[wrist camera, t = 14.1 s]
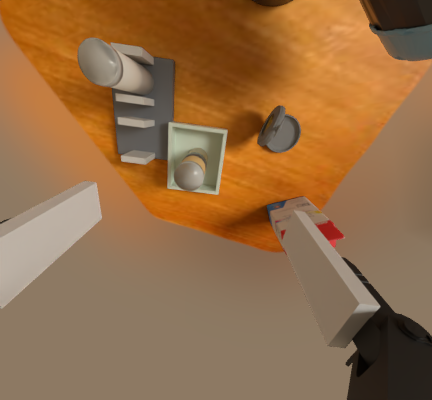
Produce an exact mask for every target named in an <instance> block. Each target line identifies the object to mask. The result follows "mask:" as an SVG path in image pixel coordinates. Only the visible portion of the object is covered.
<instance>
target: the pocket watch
mask: <svg viewBox="0 0 432 400" xmlns="http://www.w3.org/2000/svg"><path fill="white" fill-rule="evenodd" d="M300 134H301V128H300V124H299V122H298V120H297V119H296V118H294V117H293V116H291V115H287V114H285V107H283V106H280V105H279V106H277V107H276V108H275V109H274V110H273V111H272V112H271V114H270V115H269V116H268V118H267V119H266V121H265V123H264V125H263V127H262V129H261V131H260V133H259V136H258V141H257V143H258V144H259V145H260V146H265V145H267V147H268V148H269V149H270V150H272V151H274V152H280V153H281V152H286V151H288V150H290V149H291V148H293V147H294V146H295V145H296V143H297V142H298V140H299V138H300Z"/></svg>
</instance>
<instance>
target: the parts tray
mask: <svg viewBox="0 0 432 400" xmlns="http://www.w3.org/2000/svg"><path fill="white" fill-rule="evenodd" d="M227 132H228V130H227V129H224V128H217V127H210V126H203V125H196V124H189V123H182V122H175V121H172V122H169V126H168V183H167V188H168V189H176V190H183V189H181V188H179V187H178V186H177V184H176V183H175V180H174V172H175V170H176V168H177V167H178V166H179V164H180V163H181V162H182V160H183V159H184V158H185V157H186V155H187V154H188V153H189V152H190V151H191V150H192V149H194V148H202V149H203V150H205V151H206V153H207V155H208V162H207V167H206V171H205V174H204V180H203V183H202V185H201V186H200V187H199V188H198V189H197V190H194V191H192V192H200V193H208V194H216V195H218V193H219V186H220V179H221V173H222V166H223V159H224V152H225V145H226V139H227ZM184 191H185V190H184Z"/></svg>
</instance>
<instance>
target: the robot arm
mask: <svg viewBox="0 0 432 400" xmlns="http://www.w3.org/2000/svg"><path fill="white" fill-rule="evenodd" d="M252 1H254V2H256V3H258V4H261V5H266V6H278V5H282V4H286V3H288V2H290V1H292V0H252ZM359 1H360V3H361V5H362V7H363V9H364V11H365V13H366V15H367V17H368V20H369V22H370V24H369V27H370V29H371V31H372V32H373V33H374V34H377V35H378V37H379V38H380V40H381V42H382V44H383V45H384V47H385V49H386V50H387V52H388V54H389V55H390V56H392V57H393V58H395V59H398V60H408V61H420V60H427V59H432V0H359ZM101 219H102V215H101V209H100V203H99V197H98V191H97V184H96V182H88V181H83V182H81V183H79V184H77V185H75V186H74V187H72V188H70V189H68V190H66V191H64V192H62V193H60V194H58V195H56V196H54V197H52V198H50V199H48V200H46V201H45V202H43V203H41V204H39V205H37V206H35V207H33V208H31V209H29V210H27V211H25V212H23V213H21V214H19V215H17V216H15V217H13V218H10V219H7V220H4V221H2V222H0V308H3V307H4V306H5V305H6V304H8V303H9V302H10V301H11V300H12V299H13V298H14V297H15V296H17V295H18V294H19V293H20V292H21V291H22V290H23V289H24V288H25V287H26V286H27V285H29V284H30V283H31V282H32V281H33V280H34V279H35V278H36V277H37V276H39V275H40V274H41V273H42V272H43V271H44V270H45V269H46V268H48V267H49V266H50V265H51V264H52V263H53V262H54V261H55V260H56V259H58V258H59V257H60V256H61V255H62V254H63V253H64V252H65V251H66V250H68V249H69V248H70V247H71V246H72V245H73V244H74V243H75V242H76V241H77V240H79V239H80V238H81V237H82V236H83V235H84V234H85V233H86V232H87V231H89V230H90V229H91V228H92V227H93V226H94V225H95V224H96V223H97V222H99V221H100V220H101ZM281 243H282V245H283V247H284V249H285V252H286V254H287V256H288V258H289V261H290V263H291V265H292V267H293V270H294V272H295V274H296V276H297V279H298V281H299V283H300V285H301V288H302V290H303V292H304V294H305V297H306V299H307V301H308V303H309V306H310V308H311V310H312V312H313V314H314V317H315V319H316V321H317V323H318V326H319V328H320V330H321V332H322V335H323V337H324V339H325V342H326V344H327V346H331V347H340V348H346V347H347V346H348V344H349V343H350V342H351V341H352V340H353V342H354V343H355V345H356V347H357V351H356V352H355V353H354V354H353V355H352V356H351V357H350V358H349V359H348V360H347V362H346V365H347V366H349V365H350V364H351V363H353V364H352V371H351V377H350V383H349V390H348V396H347V400H432V336H431V335H430V334H429V333H428V332H427V331H426V330H425V329H424V328H423V327H422V326H420V325H419V324H418V323H416V322H415V321H413V320H412V319H410V318H408V317H406V316H404V315H402V314H397V313H395V312H394V311H393V310H392V309H391V307H390V306H389V305H388V304H387V303H386V302H385V300H384V299H383V298H382V297H381V296H380V294H379V293H378V292H377V291H376V290H375V289H374V287H373V286H372V285H371V284H369V282H368V281H367V279H366V278H365V277H364V276H362V273H361V272H360V271H359V270H358V269H357V267H356V266H355V265H353V264H352V263H351V262H350V261H348V260H347V259H346V258H343V257H340V255H339V254H338V253H337V251H336V250H335V249H334V248H333V246H332V245H331V244H330V243H329V241H328V240H327V239H326V238H325V237H324V235H323V234H322V233H321V232H320V230H319V229H318V228H317V227H316V225H315V224H314V223H313V222H312V220H311V219H310V218H309V217H308V215H307V214H306V213H305V212H303V211H295V210H293V213H292V215H291V218H290V221H289V223H288V226H287V229H286V231H285V234H284V237H283V239H282V242H281Z"/></svg>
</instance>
